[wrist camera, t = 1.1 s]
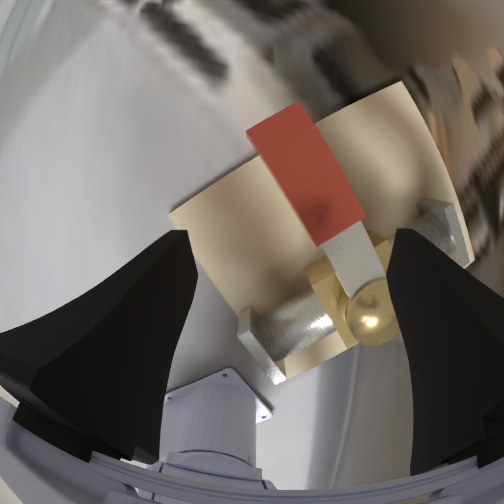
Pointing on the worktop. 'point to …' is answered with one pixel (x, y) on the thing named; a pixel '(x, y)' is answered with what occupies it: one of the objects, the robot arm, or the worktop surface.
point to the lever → (328, 218)
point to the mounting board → (288, 225)
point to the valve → (335, 295)
